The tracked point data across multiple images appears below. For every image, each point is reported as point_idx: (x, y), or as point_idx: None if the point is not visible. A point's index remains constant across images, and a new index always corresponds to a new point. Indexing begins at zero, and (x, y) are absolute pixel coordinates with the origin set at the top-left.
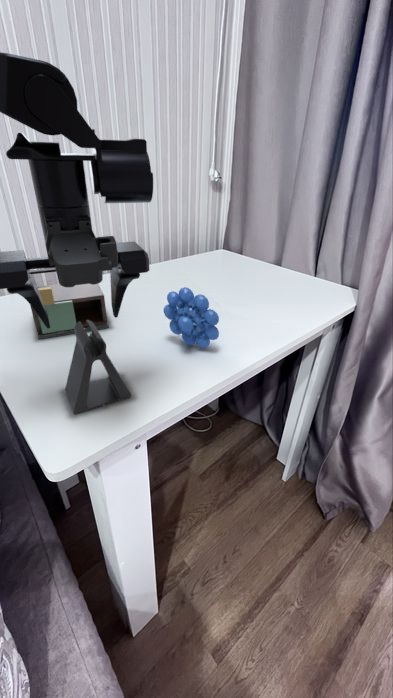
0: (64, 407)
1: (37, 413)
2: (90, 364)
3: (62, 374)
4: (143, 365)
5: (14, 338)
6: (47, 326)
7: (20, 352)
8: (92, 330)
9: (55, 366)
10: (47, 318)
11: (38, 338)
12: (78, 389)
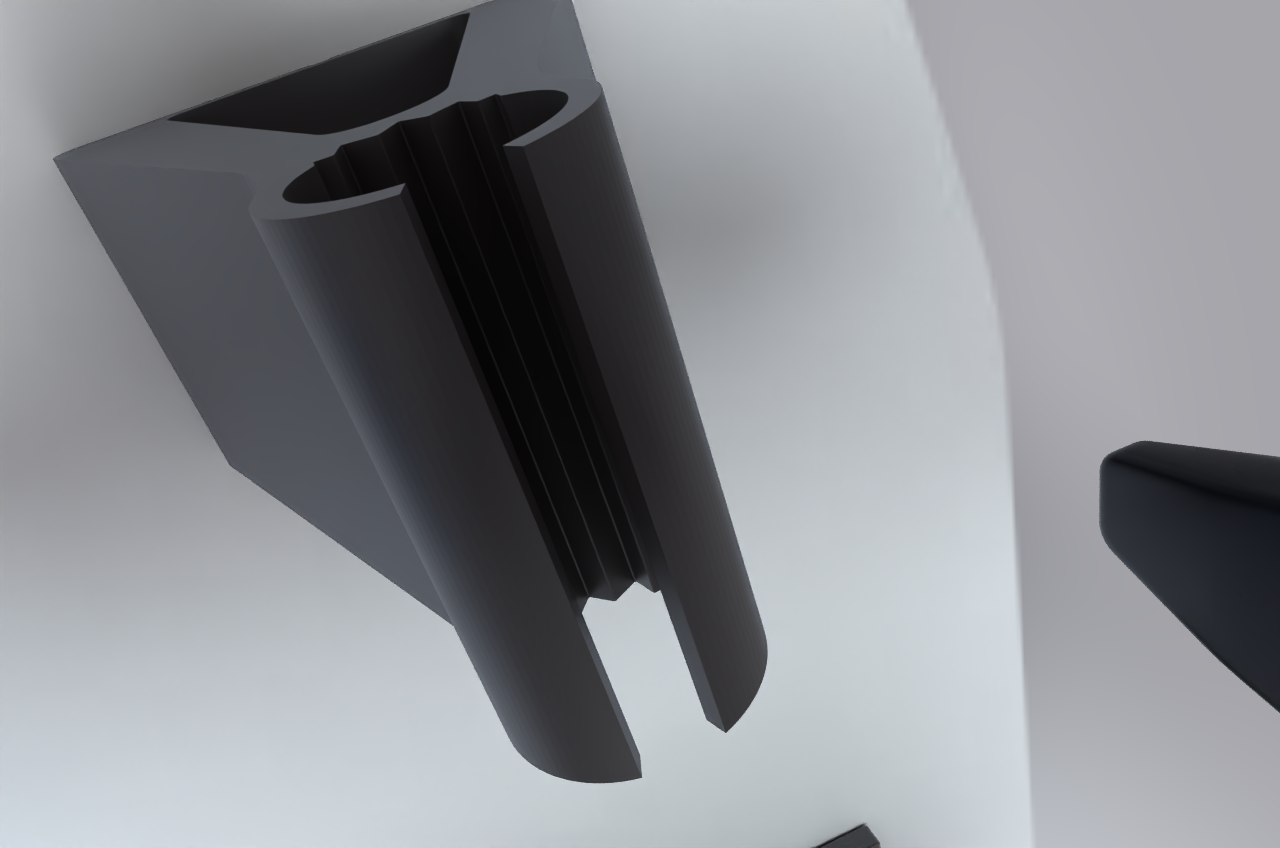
0: (637, 91)
1: (809, 49)
2: (472, 78)
3: None
4: (8, 620)
5: (988, 811)
6: (1158, 451)
7: (950, 687)
8: (520, 480)
9: None
10: (1267, 499)
11: (868, 830)
12: (561, 26)
